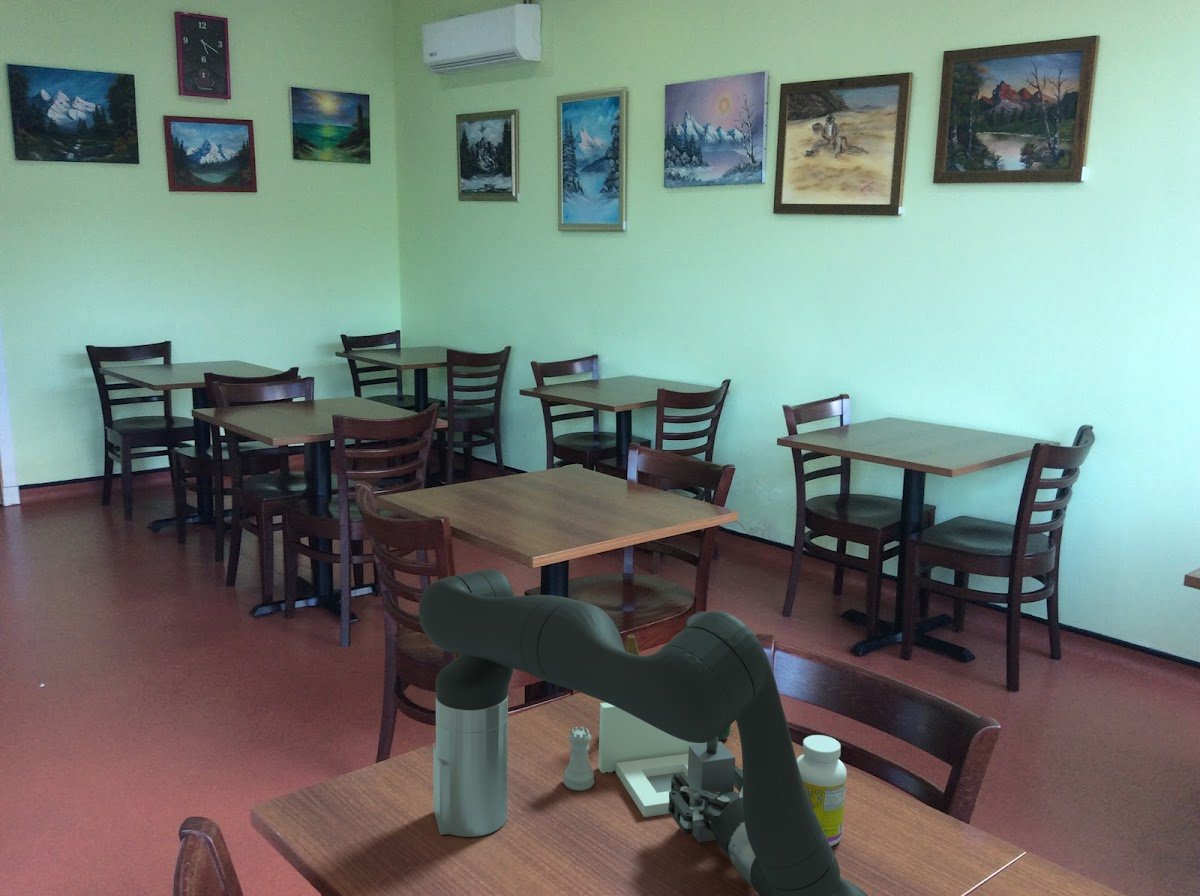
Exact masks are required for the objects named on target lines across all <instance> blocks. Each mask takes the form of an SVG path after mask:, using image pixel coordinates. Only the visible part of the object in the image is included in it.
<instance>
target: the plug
mask: <svg viewBox="0 0 1200 896" xmlns="http://www.w3.org/2000/svg"><path fill="white" fill-rule="evenodd" d="M735 765H736V756H735V755H734V754H733V753H732V752H731V751H730V750H729V748H727V746H726V745H725V744H724V743H723V742H722V741H721V740H718V737H716V738H715V739H713V740H711V741H709V742H707V743H704V744H696V745H689V753H688V776H687V783H688V785H689V787H690V788H692V789H694V790H697V791H699V790H701V789H704V790H706V791H709V792H711V793H714V794H727V793H730V792H735V791H734V790H735V786H734V776H735ZM690 802H691V803H693V804H694V802H695V801H694V799H693V798H691V797H690ZM707 803H708V801H707V800H705V804H704V809H705V807H706V805H707ZM692 835H693V836H694V837H695V839H696V841H697V842H698V843H704V842H709V841H710V842H711V841H715V840H716V838H715V836H714V833H713V832H712V831H710V830H708V829H706V828H705V827H704V826H700V827H693V833H692ZM716 841H717V840H716Z"/></svg>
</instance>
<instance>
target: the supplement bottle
mask: <svg viewBox="0 0 1200 896" xmlns="http://www.w3.org/2000/svg"><path fill="white" fill-rule="evenodd" d="M841 747H842V746H841V743H840V742H839V741H838V740H836V739H835V738H833V737H830V736H828V735H822V734H815V735H814V734H813V735H808V736H807V737H805V738H804V739H803V741H802V752H803V754H801V755H799V756H798V757H796V759H797V763H798V767H799V771H800V774H801V777H802V780H803V783H804V786H805V789H806V792H807V795H808V798H809V800H810V803H811V805H812V807H813V810H814V812H815V814H816V816H817V818H818V820H819V823H820V825H821V827H822V829H823V831H824V833H825V835H826V838H827V840H828V842H829V844H830V846H831V847H833V846H834V845H837V844H838V843H840V841H841V838H842V835H843V828H844V827H843V824H844V812H845V799H846V786H847V775H848V773H847V768H846V766H845V764H844V763H843V762H842V761H841V760H840V759H839V758H840V757H841Z"/></svg>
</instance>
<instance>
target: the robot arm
mask: <svg viewBox="0 0 1200 896" xmlns="http://www.w3.org/2000/svg"><path fill="white" fill-rule="evenodd" d="M514 593H515V592H514V590H513V587H512V585H511V583H510V581H509V579H508V578H507V576H506V574H503V573H502V572H501V571H499V570H497V569H492V568H491V569H482V570H477V571H471V572H466V573H461V574H455V575H452V576H446V577H443V578H440V579H438V580H435V581H434V582H432V583H431V584H429V585H428V586H427V587H426V588H425V589H424V591H423V593H422V594H421V597H420V599H419V603H418V619H419V622H420V626H421V628H422V630H423V632H424V634H425V635H426V637H427V639H429V640H430V642H431V643H432V644H433V645H435V646H436V647H437V648H438V649H441V650H442V651H444V652H447V653H452V654H458V656H457V657H455V658H454V659H453V660H452V661H451V662H449V663H448V664H447V665H445V666H444V667H443V668H441V670H440V671H439V672H438V674H437V676H436V679H435V744H434V745H433V747H432V748H433V750H432V751H433V753H432V754H433V755H432V757H433V759H432V761H433V762H432V763H433V764H432V765H433V767H432V768H433V771H432V772H433V780H432V781H433V783H432V785H433V814H434V817H435V821H436V824H437V828H438V833H439V834H440V835H441V836H442V835H451V836H456V837H465V838H468V837H469V838H474V837H480V836H482V837H483V836H485V835H489V834H491V833H493V832H496V831H498V830H499V829H501V828H502V827H503V826H504V825H505V823H506V822H507V819H508V804H509V803H508V802H509V801H508V780H509V779H508V777H509V775H508V772H509V771H508V770H509V768H508V767H509V766H508V765H509V764H508V760H509V759H508V757H509V756H508V755H509V749H508V746H509V685H510V682H511V680H512V677H513V674H514V670H517V671H520V672H523V673H526V674H528V675H531V676H533V677H535V678H537V679H539V680H542V681H544V682H547V683H551V684H553V685H556V686H559V687H562V688H566V689H568V690H569V689H570V690H573V691H576V692H578V693H581V694H583V695H587V696H589V697H592V698H594V699H597V700H600V701H601V702H603V703H608V704H611V705H613V706H615V707H617V708H619V709H621V710H623V711H625V712H627V713H629V714H631V715H633V716H635V717H637V718H639V719H641V720H642V721H644V722H646V723H648V724H650V725H652V726H654V727H656V728H657V729H659V730H661V731H663V732H665V733H667V734H669V735H671V736H674V737H676V738H679V739H681V740H684V741H688V742H692V743H706V742H709V741H711V740H713V739H715V738H716V737H718V736H719V735H720V734H721V733H723V732H724V731H725V730H726V729H727V728H728V727H729V726H730V725H731V726H732V724H733V723H734V722H735V723H736V725H737V730H738V733H739V734H738V735H739V739H740V747H741V758H742V759H741V760H742V762H741V763H742V768H739V767H738V766H737V765H736V764H735V776H734V788H736V790H737V791H738V792H737V791H734V792H730V793H727V794H714V793H711V792H709V791H706V790H704V789H701V790H699V791H697V790H694V789H692V788H690V787H689V785H688V783H687V782H686V781H685V779H684V778H683V777H682V775H681V774H680V773H674V775H673V778H671V791H670V792H669V807H668V811H669V815H670V816H671V817H672V819H673V821H674V822H675V823H676V825H678V827H679V829H680V831H681V832H682V833H683V834H684V835H693V827H700V826H704V827H705V828H706V829H708V830H710V831H712V832H713V833H714V836H715V838H716V842H717V844H718V846H719V847H720V849H721V850H722V851H723V853H725V855H726V857H727V858H728V859H729V861H730V862H731V863H732V865H733V866H734V868H735V869H736V870H737V871H738V873H739V874H740V876H741V877H742V878H743V879H744V881H746V883H747V884H749V886H751V887H752V888H753V889H754V891H755V892H756V894H757V895H758V896H870V895H868V893H866V892H865V891H864V890H863V889H862V888H860V887H859V886H858V885H855V884H854V883H852V882H850V881H849V880H847V879H845V878H843V877H842V876H841V869H840V865H839V861H838V859H837V857H836V855H835V853H834V851H833V848H832V846H830V844H829V842H828V840H827V838H826V835H825V833H824V831H823V829H822V827H821V825H820V823H819V820H818V818H817V816H816V814H815V812H814V810H813V807H812V805H811V803H810V800H809V798H808V795H807V792H806V789H805V786H804V783H803V780H802V777H801V774H800V771H799V767H798V763H797V756H796V753H795V749H794V745H793V740H792V736H791V733H790V728H789V724H788V721H787V717H786V714H785V711H784V707H783V704H782V699H781V696H780V693H779V689H778V688H779V687H778V685H777V681H776V677H775V674H774V671H773V668H772V666H771V662H770V659H769V657H768V655H767V652H766V651H765V649H764V647H763V645H762V643H761V642H760V640H759V638H758V637H757V635H755V633H754V632H753V631H752V629H751V627H749V626H747V625H746V624H745V623H744V622H743V621H742V620H740V619H739V618H737V617H736V616H734V615H732V614H730V613H728V612H724V611H719V610H711V611H706V612H707V613H705V614H703V615H701V616H700V617H698V618H697V619H696V620H694V621H693V622H692V623H691V624H690V625H688V626H687V627H686V628H683V629H682V630H680V632H678V634H676V635H675V636H674V637H673V638H672V639H671V640H669V641H668V642H667V643H666V644H664V646H662V647H660V649H659V650H657V651H656V652H655V653H652V654H647V655H640V654H639V655H634V654H631V653H628V652H626V651H625V648H624V642H623V639H622V636H621V634H620V631H619V629H618V628H617V625H616V623H615V622H614V620H613V618H611V617H610V615H608V613H607V612H606V611H604V610H603V609H601V607H599V606H597V605H594V604H591V603H588V602H586V601H581V600H577V599H572V598H568V597H565V596H560V595H559V596H558V595H551V594H535V595H534V594H532V595H515V594H514ZM690 797H691V798H693V799H694V801H695V802H694V804H693V803H691V802H690ZM705 800H707V801H708V803H707V805H706V807H705V809H704V804H705Z"/></svg>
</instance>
